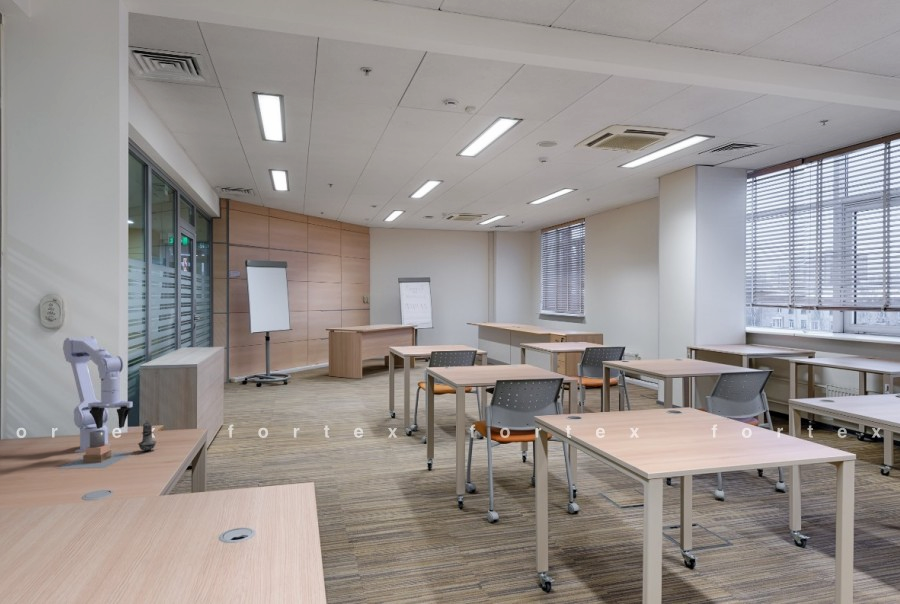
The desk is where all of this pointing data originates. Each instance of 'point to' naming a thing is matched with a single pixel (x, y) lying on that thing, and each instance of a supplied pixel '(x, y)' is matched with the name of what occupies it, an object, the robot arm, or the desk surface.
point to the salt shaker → (147, 439)
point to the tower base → (96, 457)
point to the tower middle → (97, 450)
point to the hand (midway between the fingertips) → (110, 427)
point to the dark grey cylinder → (97, 438)
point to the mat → (79, 463)
